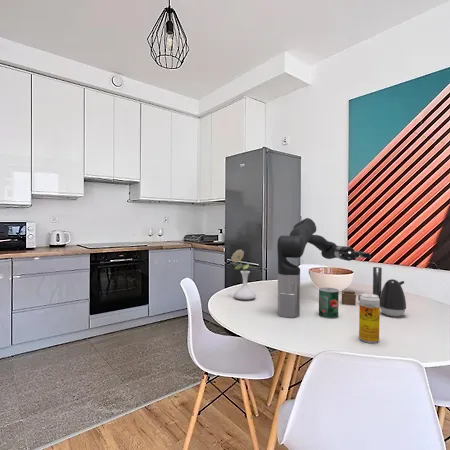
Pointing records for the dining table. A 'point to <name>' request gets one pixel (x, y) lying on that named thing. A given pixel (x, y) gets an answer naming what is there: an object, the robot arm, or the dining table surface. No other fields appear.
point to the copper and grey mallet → (376, 281)
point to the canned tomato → (328, 303)
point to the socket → (348, 298)
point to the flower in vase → (244, 291)
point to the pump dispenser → (393, 298)
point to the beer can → (369, 318)
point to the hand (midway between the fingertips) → (362, 256)
